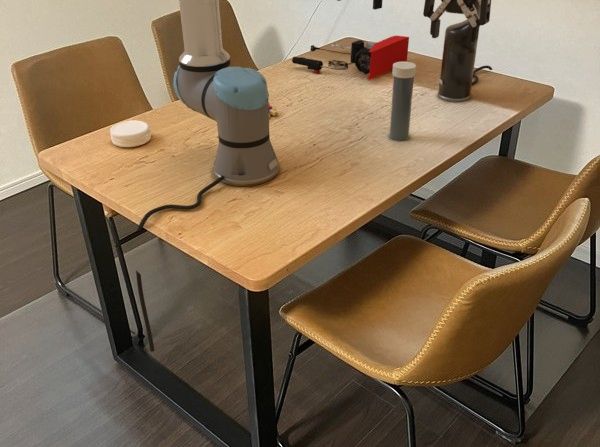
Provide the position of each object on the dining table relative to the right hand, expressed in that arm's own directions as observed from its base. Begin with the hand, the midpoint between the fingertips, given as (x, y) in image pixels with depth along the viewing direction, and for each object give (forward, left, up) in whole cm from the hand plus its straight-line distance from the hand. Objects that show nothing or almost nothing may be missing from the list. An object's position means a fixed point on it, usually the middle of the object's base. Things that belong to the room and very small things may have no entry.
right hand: (452, 40), depth 136 cm
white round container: (+37, -70, -28) cm, 83 cm away
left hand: (-18, -35, 0) cm, 39 cm away
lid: (-4, -13, -10) cm, 17 cm away
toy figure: (+3, -54, -28) cm, 61 cm away
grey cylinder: (-4, -13, -28) cm, 31 cm away
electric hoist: (-46, -54, -28) cm, 77 cm away
